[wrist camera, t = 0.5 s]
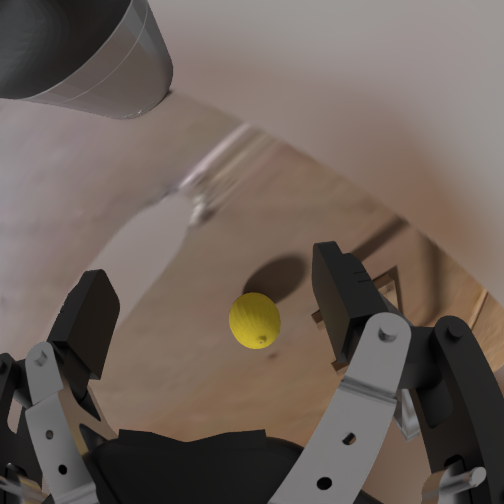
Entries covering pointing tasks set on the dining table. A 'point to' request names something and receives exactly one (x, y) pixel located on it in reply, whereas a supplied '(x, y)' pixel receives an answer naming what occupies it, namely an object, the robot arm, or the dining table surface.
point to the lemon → (254, 320)
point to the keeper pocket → (404, 411)
